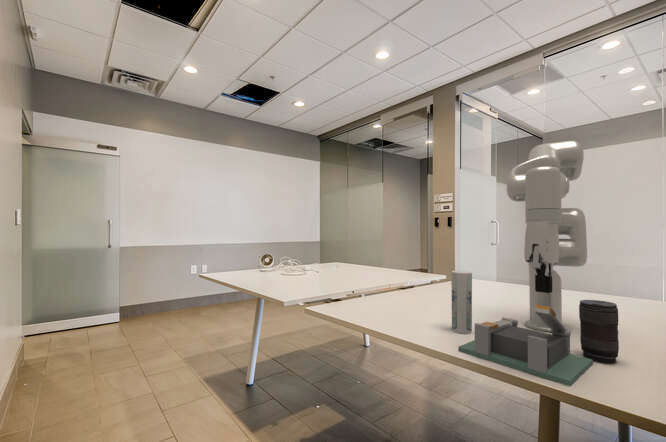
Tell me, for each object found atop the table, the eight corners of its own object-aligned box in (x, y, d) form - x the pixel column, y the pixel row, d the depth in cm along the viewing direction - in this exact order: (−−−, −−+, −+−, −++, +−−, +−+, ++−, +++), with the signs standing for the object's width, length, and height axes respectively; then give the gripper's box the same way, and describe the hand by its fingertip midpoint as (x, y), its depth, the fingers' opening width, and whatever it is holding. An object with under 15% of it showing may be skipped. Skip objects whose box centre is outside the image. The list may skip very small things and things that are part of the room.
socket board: (489, 337, 102) (489, 310, 102) (592, 364, 82) (592, 330, 82) (458, 350, 90) (458, 320, 90) (569, 386, 70) (569, 346, 70)
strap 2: (552, 331, 86) (553, 324, 87) (566, 334, 84) (567, 327, 85) (534, 311, 79) (535, 304, 79) (549, 314, 76) (550, 307, 77)
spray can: (451, 327, 112) (451, 270, 113) (471, 329, 110) (471, 271, 111) (451, 332, 106) (451, 272, 107) (472, 335, 104) (472, 273, 105)
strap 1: (502, 322, 97) (502, 316, 97) (513, 325, 94) (513, 319, 94) (478, 330, 88) (479, 323, 88) (490, 333, 85) (490, 326, 85)
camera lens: (580, 350, 91) (579, 297, 92) (618, 358, 86) (617, 302, 86) (579, 359, 85) (578, 302, 85) (620, 367, 80) (619, 307, 80)
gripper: (537, 219, 87) (537, 287, 86) (514, 216, 78) (514, 292, 77) (570, 218, 81) (571, 291, 80) (549, 214, 72) (550, 297, 71)
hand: (543, 291), depth 78 cm, fingers closed
